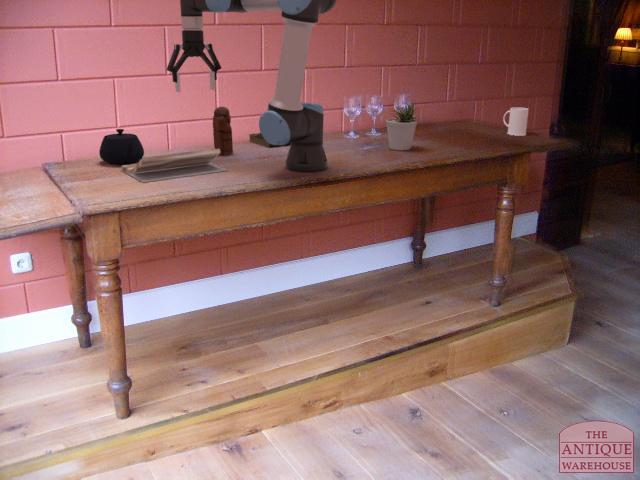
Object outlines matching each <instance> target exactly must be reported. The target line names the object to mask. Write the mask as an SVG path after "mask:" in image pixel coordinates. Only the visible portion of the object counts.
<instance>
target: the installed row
mask: <svg viewBox="0 0 640 480" xmlns="http://www.w3.org/2000/svg"><path fill="white" fill-rule="evenodd" d="M137 164H138V163H134V164H129V165H121V170H123V171H125V172H127V173H129V174H131V173H134V172H133V168H134V167H135V166H136V165H137ZM205 164H207V163H205ZM198 165H199V164H198ZM190 166H192V165H190ZM183 167H184V166H183ZM175 168H177V167H175ZM167 169H169V168H167ZM160 170H162V169H160ZM152 171H154V170H152ZM145 172H146V171H145ZM137 173H139V172H137Z"/></svg>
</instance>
